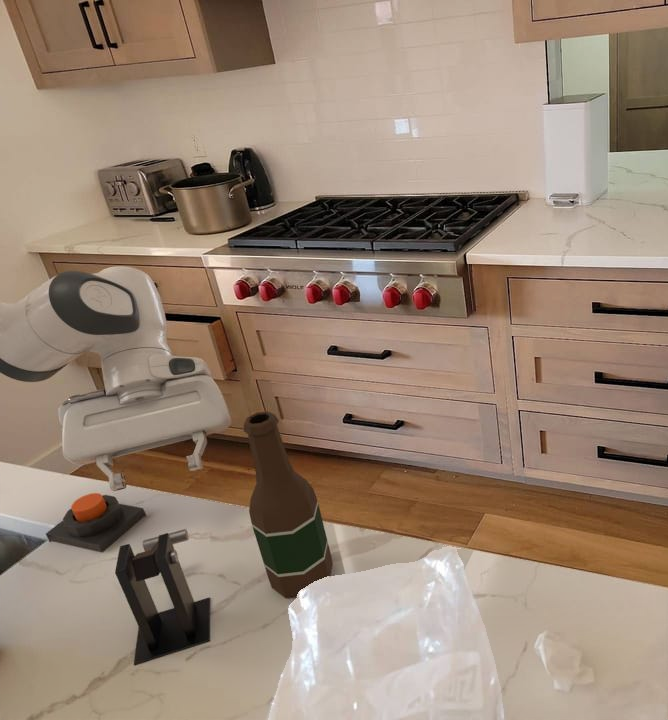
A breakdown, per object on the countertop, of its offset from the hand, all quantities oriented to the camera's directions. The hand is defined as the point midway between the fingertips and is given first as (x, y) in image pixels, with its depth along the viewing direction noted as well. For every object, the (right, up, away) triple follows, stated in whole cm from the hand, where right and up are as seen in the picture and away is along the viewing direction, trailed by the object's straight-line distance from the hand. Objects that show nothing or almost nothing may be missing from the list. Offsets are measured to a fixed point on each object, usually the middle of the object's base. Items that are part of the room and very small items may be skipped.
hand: (157, 479), depth 88 cm
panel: (-13, -9, +9) cm, 18 cm away
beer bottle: (+20, -12, -3) cm, 24 cm away
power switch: (+7, -17, -9) cm, 20 cm away
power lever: (+4, -8, -9) cm, 13 cm away
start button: (-13, -6, +8) cm, 16 cm away
